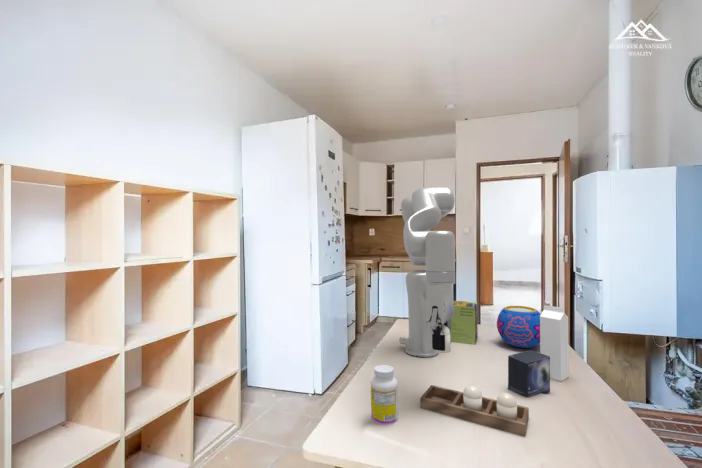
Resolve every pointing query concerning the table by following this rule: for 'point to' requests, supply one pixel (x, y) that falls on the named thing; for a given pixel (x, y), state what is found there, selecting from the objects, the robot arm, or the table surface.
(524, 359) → the small box
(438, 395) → the crate
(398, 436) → the table surface
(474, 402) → the egg middle
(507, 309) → the ceramic pot
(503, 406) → the egg far
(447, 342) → the white rounded cylinder
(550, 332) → the milk
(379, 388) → the supplement bottle
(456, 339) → the protein box
